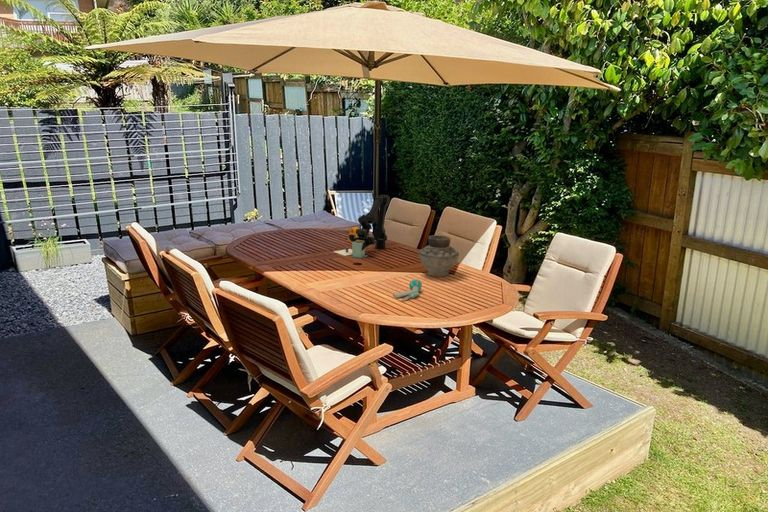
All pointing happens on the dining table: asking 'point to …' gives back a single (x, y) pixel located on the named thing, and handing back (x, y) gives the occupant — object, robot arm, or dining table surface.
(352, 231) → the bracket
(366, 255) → the stand
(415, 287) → the garden hose nozzle
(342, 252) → the board
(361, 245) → the sleeve
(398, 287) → the dining table surface
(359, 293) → the dining table surface
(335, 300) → the dining table surface
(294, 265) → the dining table surface
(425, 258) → the ceramic pot
